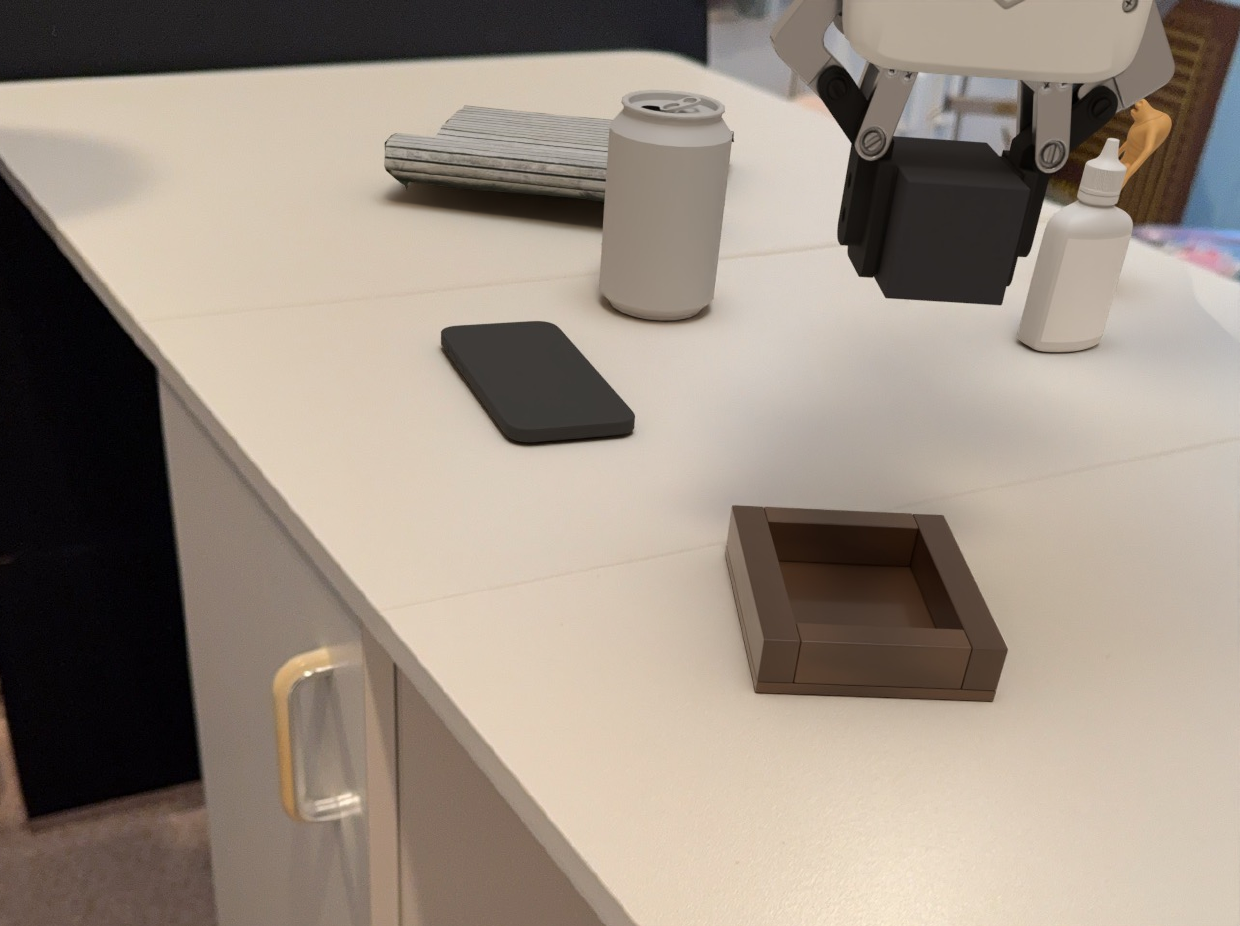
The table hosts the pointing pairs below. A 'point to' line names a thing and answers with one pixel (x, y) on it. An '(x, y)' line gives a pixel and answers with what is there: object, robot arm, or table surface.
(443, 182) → the mat
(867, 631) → the socket
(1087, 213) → the eye dropper bottle
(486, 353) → the phone
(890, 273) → the block
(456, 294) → the table surface
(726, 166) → the can
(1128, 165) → the figurine
